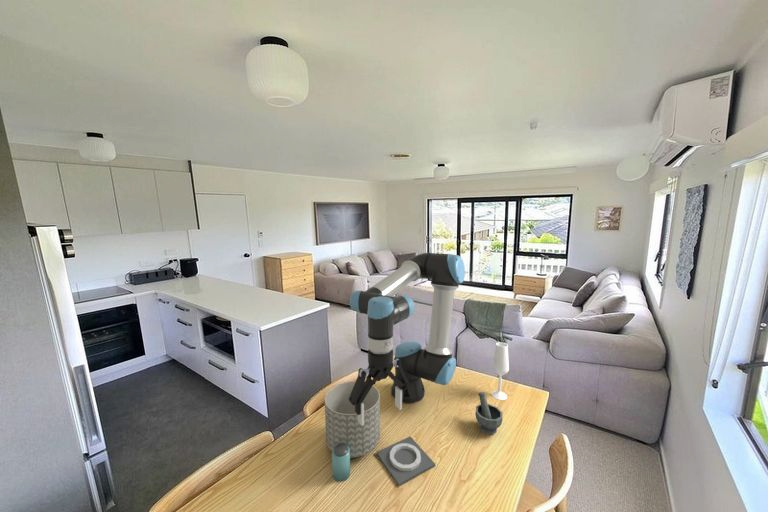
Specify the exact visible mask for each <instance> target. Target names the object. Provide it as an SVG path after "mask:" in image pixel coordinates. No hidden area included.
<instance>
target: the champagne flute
mask: <svg viewBox="0 0 768 512" xmlns="http://www.w3.org/2000/svg"><path fill="white" fill-rule="evenodd" d="M495 343H496V344H495V349H494V355H493V362H492V369H493V371H494V372H495V373H496V374H497V375H498V385H497V386H498V389H497V390H494V391H492V392H491V393H490V394H491V396H492V397H493V398H494V399H496V400H499V401H505V400H507V399H508V395H507V394H506V393H505V392H503V391H502V381H503V379H502V376H504V375H506V374H507V373H508V372H509V371H510V363H509V348H508V347H509V345H508V343H505V342H502V341H501V342H500V341H499V342H495Z"/></svg>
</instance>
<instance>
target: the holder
mask: <svg viewBox="0 0 768 512" xmlns="http://www.w3.org/2000/svg"><path fill="white" fill-rule="evenodd" d="M376 456H377V457H378V458H379V460H380V461H381V463H382V465H383V466H384V467H385V468H386V470H387V471H388V473H389V474H390V476H391V477H392V479H393V480H394V482H395V483H396V485H397V486H398V487H401V486H402V485H405V484H406V483H408V482H409V481H411V480H413V479H415V478H417V477H419V476H421V475H422V474H424V473H426V472H427V471H430V470H431V469H434V468H435V467H436V463H435V462H434V460H432V459H431V458H430V456H429V455H428V454H427V453H426V452H425V450H423V448H421V446H420V445H419V444H418V443H417V442H416V441H415V439H414V438H412V436H407V437H406V438H403V439H400V440H399V441H397V442H395V443H393V444H391V445H388V446H386V447H384V448H382V449H380V450H377V451H376Z"/></svg>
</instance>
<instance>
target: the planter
mask: <svg viewBox="0 0 768 512" xmlns="http://www.w3.org/2000/svg"><path fill="white" fill-rule="evenodd" d="M355 382H356V380H353V381H345V382H342V383H339V384H337V385H335V386H333V387H331V388H329V390H328V391H327V392H326V394H325V396H324V416H325V417H324V421H325V424H324V425H325V443H326V445H327V447H328V449H329V451H331V452H332V450H333V448H334V447H335V446H336V445H338V444H345V445H347V446H348V447H349V448H350V459H352V458H358V457H362V456H365V455H367V454H368V453H370V452H373V450H374V449H375V448H376V447H377V446H378V444H379V443H380V439H381V393H380V391H379V390H378V388H377V387H376V386H374V385H373V386H372V387H371V389H370V391H369V392H368V394H367V395H366V397H365V399H364V400H363V402H362V403H363V404H364V425H363V426H362V425H361V424H360V423H359V422H358V415H357V414H356V412H355V405H352V404H351V403H350V401H349V397H350V395H351V392H352V390H353V387H354V385H355Z"/></svg>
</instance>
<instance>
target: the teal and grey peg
mask: <svg viewBox="0 0 768 512" xmlns="http://www.w3.org/2000/svg"><path fill="white" fill-rule="evenodd" d="M331 468H332V469H331V470H332V478H333V480H334V481H335V482H338V483H339V482H340V483H341V482H345V481H347V480H348V479H349V477H350V476H351V458H350V448H349V447H348V446H347V445H345V444H338V445H336V446H335V447H334V448H333V450H332V451H331Z"/></svg>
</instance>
